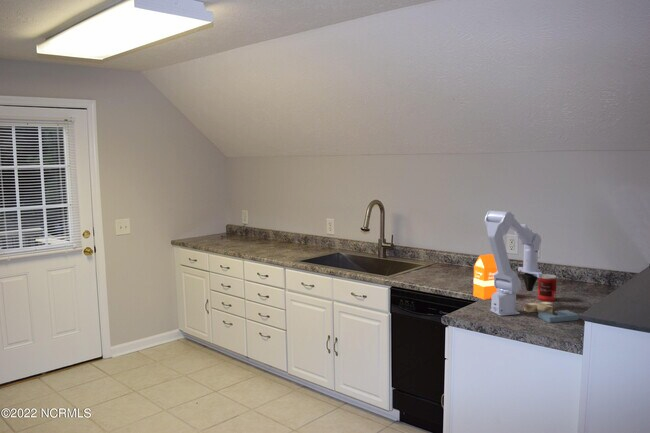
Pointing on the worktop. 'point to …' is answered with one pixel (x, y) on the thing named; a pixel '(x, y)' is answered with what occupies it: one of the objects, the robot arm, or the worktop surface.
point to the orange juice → (484, 277)
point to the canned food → (547, 287)
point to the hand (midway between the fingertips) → (529, 290)
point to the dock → (561, 316)
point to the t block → (539, 307)
